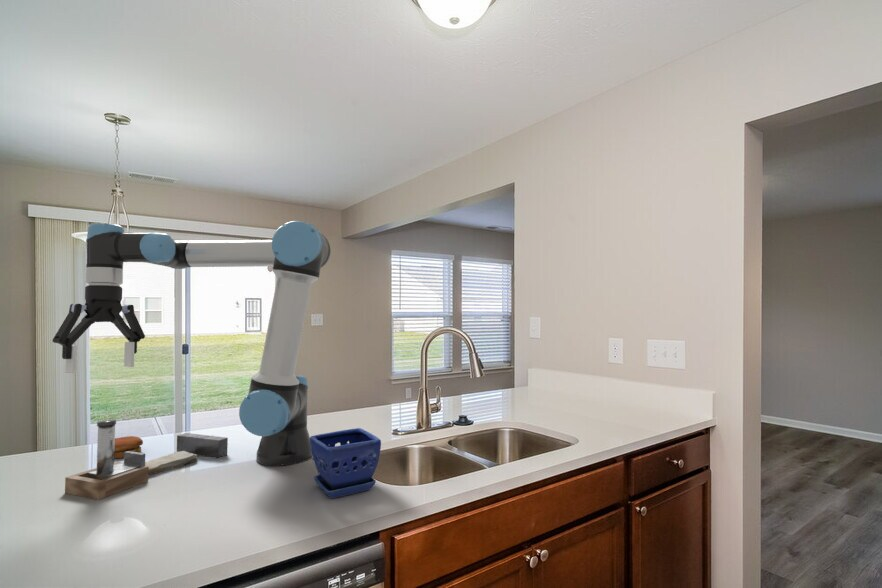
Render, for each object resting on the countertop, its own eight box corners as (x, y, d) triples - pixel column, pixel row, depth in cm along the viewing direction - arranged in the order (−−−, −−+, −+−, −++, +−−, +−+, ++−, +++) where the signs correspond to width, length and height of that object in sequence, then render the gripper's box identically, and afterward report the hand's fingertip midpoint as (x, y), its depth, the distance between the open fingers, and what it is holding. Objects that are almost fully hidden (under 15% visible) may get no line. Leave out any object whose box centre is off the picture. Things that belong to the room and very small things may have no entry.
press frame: (148, 481, 108) (148, 466, 108) (98, 499, 97) (98, 483, 97) (116, 475, 112) (117, 461, 112) (64, 493, 101) (65, 477, 101)
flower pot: (325, 505, 94) (325, 448, 95) (308, 485, 106) (308, 434, 106) (382, 492, 102) (382, 439, 102) (360, 474, 113) (360, 426, 113)
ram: (146, 474, 110) (147, 415, 110) (107, 488, 101) (109, 424, 102) (126, 470, 112) (128, 413, 113) (86, 484, 103) (88, 421, 104)
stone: (142, 480, 110) (142, 470, 110) (123, 472, 116) (124, 462, 116) (202, 463, 122) (202, 453, 123) (182, 456, 128) (182, 447, 128)
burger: (136, 457, 126) (136, 441, 127) (96, 461, 123) (97, 444, 124) (146, 448, 136) (146, 432, 136) (110, 451, 133) (110, 435, 133)
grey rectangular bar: (227, 455, 128) (227, 437, 128) (218, 458, 125) (219, 440, 125) (185, 449, 133) (186, 432, 134) (176, 452, 131) (177, 435, 131)
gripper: (142, 288, 126) (140, 363, 125) (35, 282, 102) (32, 375, 101) (161, 287, 123) (159, 364, 122) (56, 281, 100) (52, 376, 99)
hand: (101, 369), depth 112 cm, fingers open, 13 cm apart
